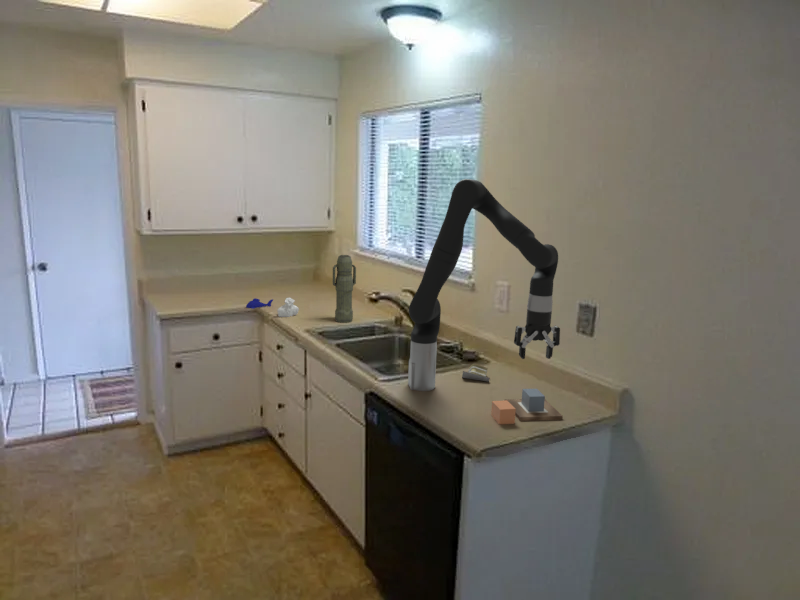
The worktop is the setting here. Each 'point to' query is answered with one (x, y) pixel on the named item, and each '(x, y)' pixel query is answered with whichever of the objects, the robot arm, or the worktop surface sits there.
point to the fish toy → (257, 304)
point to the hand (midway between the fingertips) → (535, 358)
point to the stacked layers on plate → (476, 373)
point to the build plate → (534, 412)
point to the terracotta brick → (503, 412)
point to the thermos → (344, 288)
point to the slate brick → (533, 400)
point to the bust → (288, 308)
